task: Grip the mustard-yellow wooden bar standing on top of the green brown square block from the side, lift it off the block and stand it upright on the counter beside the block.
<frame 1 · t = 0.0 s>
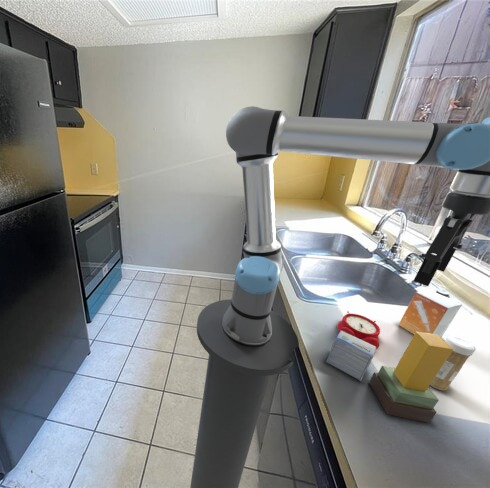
hand: (429, 276, 66), 23 cm above the worktop, tool pointing down, fingers open, 13 cm apart
green brown square block: (396, 401, 59), on the worktop
alarm clock: (356, 337, 77), on the worktop
yellow bar: (408, 381, 56), point 6 cm above the worktop, touching green brown square block
small box: (418, 332, 80), on the worktop
sprinkles bottle: (434, 383, 64), on the worktop
medicine box: (344, 367, 67), on the worktop
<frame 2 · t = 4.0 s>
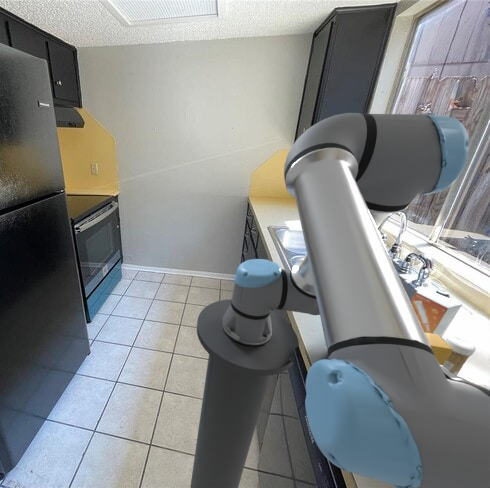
hand: (449, 340, 44), 24 cm above the worktop, tool horizontal, fingers open, 13 cm apart
nothing on the worktop moved.
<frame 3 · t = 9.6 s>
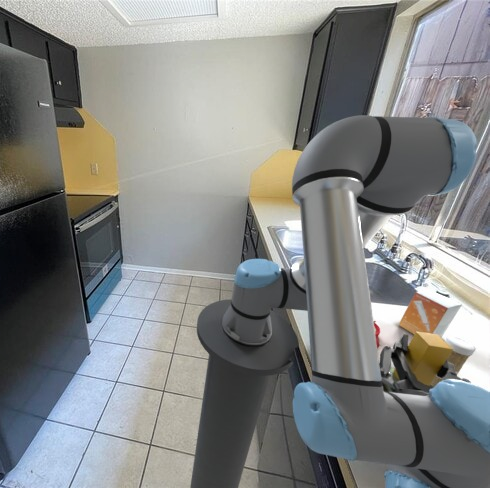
hand: (421, 346, 57), 13 cm above the worktop, tool horizontal, fingers closed on yellow bar, 5 cm apart
yellow bar: (408, 381, 56), point 6 cm above the worktop, touching gripper, green brown square block
everything else where it was.
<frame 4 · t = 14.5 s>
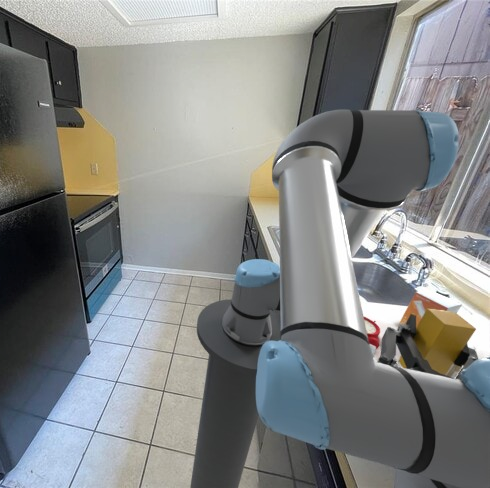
hand: (432, 328, 46), 24 cm above the worktop, tool horizontal, fingers closed on yellow bar, 5 cm apart
yellow bar: (417, 372, 45), point 18 cm above the worktop, touching gripper
everything else where it was.
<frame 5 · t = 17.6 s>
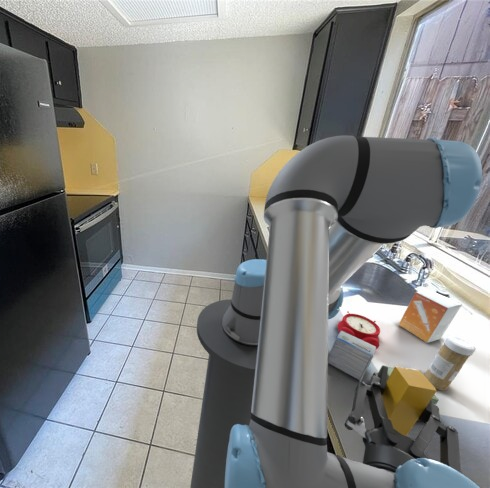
hand: (403, 380, 50), 12 cm above the worktop, tool horizontal, fingers closed on yellow bar, 5 cm apart
yellow bar: (388, 422, 49), point 6 cm above the worktop, touching gripper
everything else where it was.
when the fingers open (6 cm above the worktop, at t = 19.5 s): yellow bar stays where it is, on the worktop.
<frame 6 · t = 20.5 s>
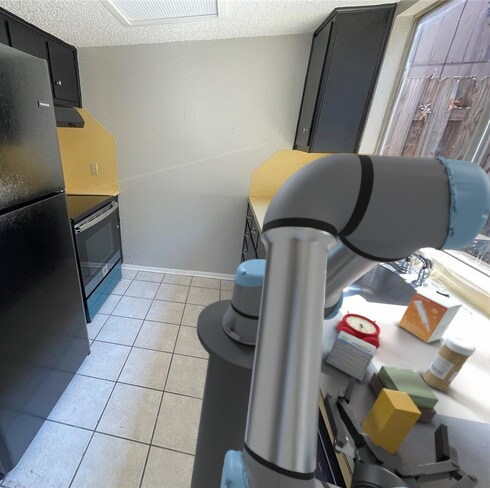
hand: (392, 403, 50), 7 cm above the worktop, tool horizontal, fingers open, 13 cm apart
yellow bar: (376, 440, 51), on the worktop
everything else where it was.
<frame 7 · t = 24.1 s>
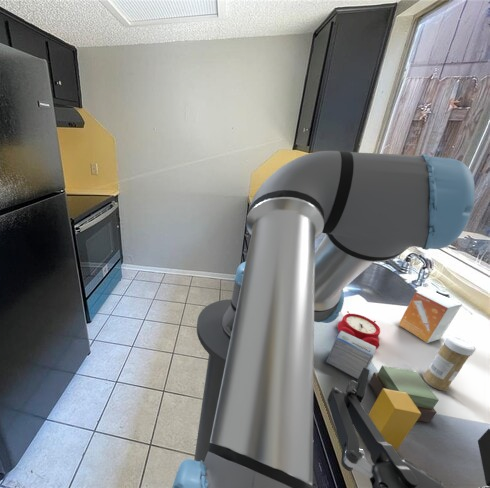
hand: (418, 402, 38), 19 cm above the worktop, tool horizontal, fingers open, 13 cm apart
nothing on the worktop moved.
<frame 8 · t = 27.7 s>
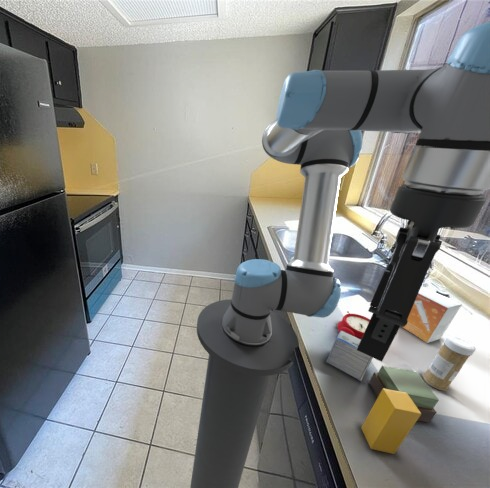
hand: (375, 328, 39), 29 cm above the worktop, tool pointing down, fingers open, 13 cm apart
nothing on the worktop moved.
at the end: yellow bar inside the target area (0.0 cm from its centre), on the worktop; yellow bar tilted 0°; the gripper is holding nothing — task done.
